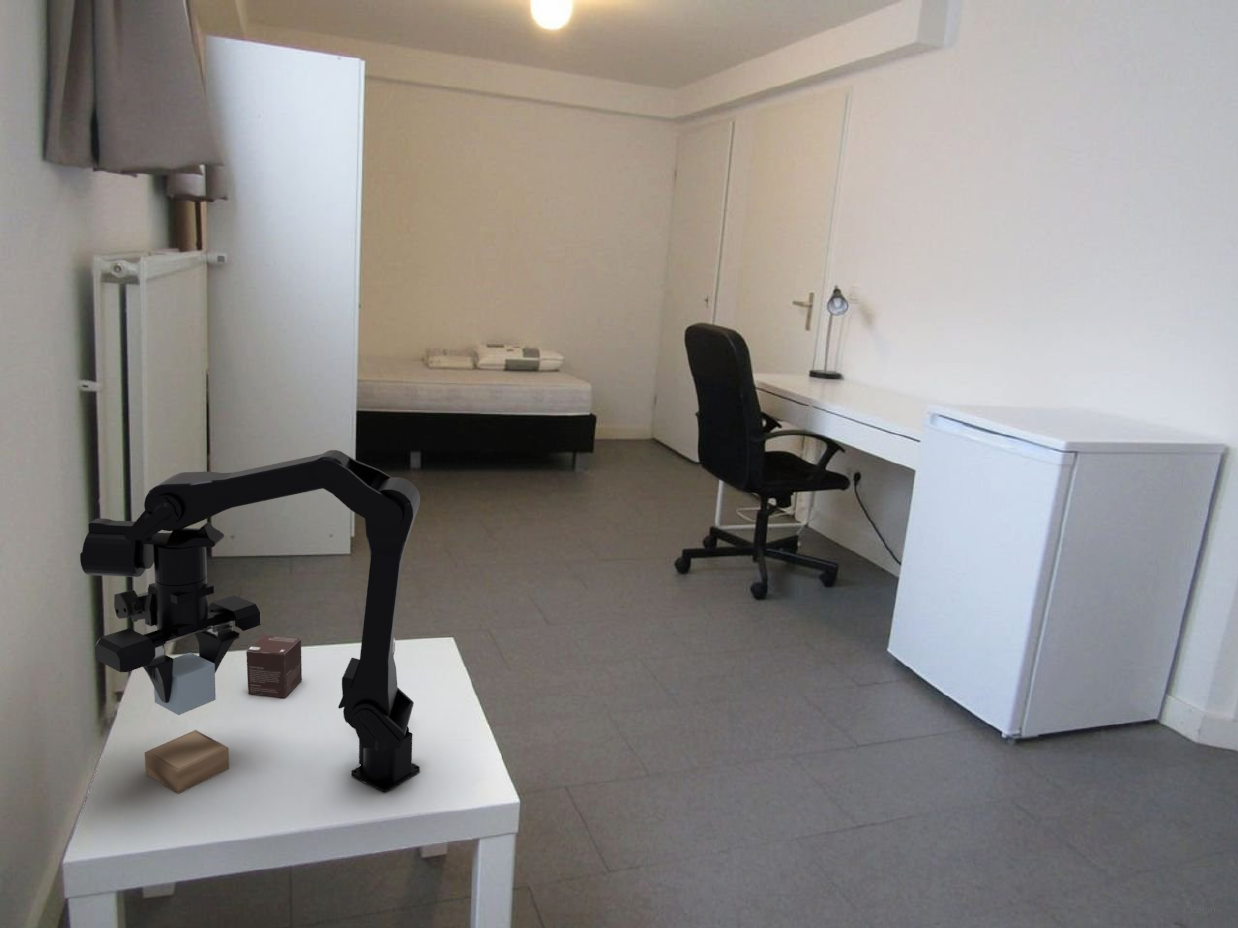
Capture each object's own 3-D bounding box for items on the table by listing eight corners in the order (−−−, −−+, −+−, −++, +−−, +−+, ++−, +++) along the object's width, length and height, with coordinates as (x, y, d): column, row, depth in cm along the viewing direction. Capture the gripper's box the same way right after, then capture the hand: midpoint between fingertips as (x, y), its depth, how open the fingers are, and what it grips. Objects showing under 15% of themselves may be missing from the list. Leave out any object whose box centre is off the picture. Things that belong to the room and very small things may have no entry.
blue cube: (215, 699, 113) (214, 663, 111) (178, 715, 108) (177, 677, 107) (191, 687, 115) (190, 652, 114) (154, 702, 111) (153, 665, 110)
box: (302, 681, 139) (302, 637, 137) (285, 699, 133) (284, 654, 132) (265, 676, 140) (265, 633, 138) (246, 694, 134) (245, 649, 132)
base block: (229, 768, 115) (228, 747, 114) (178, 793, 109) (177, 771, 108) (196, 749, 119) (195, 729, 118) (145, 773, 113) (144, 751, 112)
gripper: (209, 544, 120) (212, 651, 123) (65, 581, 104) (73, 701, 108) (263, 564, 114) (264, 675, 118) (119, 605, 99) (126, 732, 102)
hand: (185, 693), depth 111 cm, fingers closed on blue cube, 5 cm apart
